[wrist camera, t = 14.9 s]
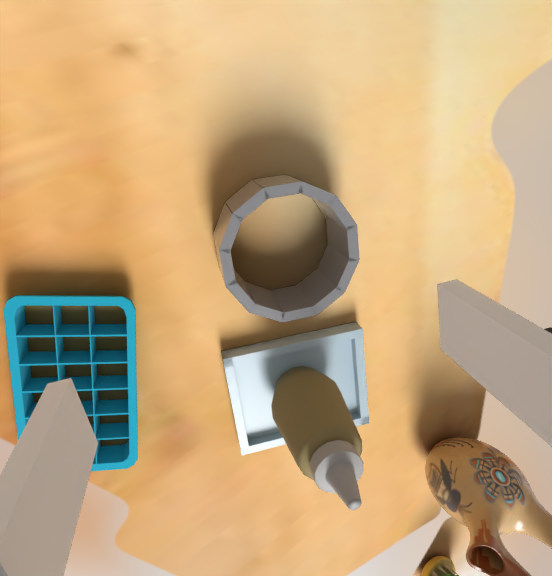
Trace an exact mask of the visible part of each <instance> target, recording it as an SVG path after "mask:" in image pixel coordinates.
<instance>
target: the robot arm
mask: <svg viewBox="0 0 552 576" xmlns="http://www.w3.org/2000/svg"><path fill="white" fill-rule="evenodd" d="M437 289H438V308H439V327H440V346H441V350H442V351H443V352H444V353H445V354H446V355H448V356H449V357H450V358H451V359H452V360H453V361H454V362H456V363H457V364H458V365H459V366H460V367H461V368H462V369H464V370H465V371H466V372H467V373H468V374H469V375H470V376H472V377H473V378H474V379H475V380H476V381H477V382H478V383H479V384H481V385H482V386H483V387H484V388H485V389H486V390H487V391H489V392H490V393H491V394H492V395H493V396H494V397H496V398H497V399H498V400H499V401H500V402H501V403H502V404H503V405H505V406H506V407H507V408H508V409H509V410H510V411H511V412H513V413H514V414H515V415H516V416H517V417H518V418H519V419H521V420H522V421H523V422H524V423H525V424H526V425H527V426H528V427H530V428H531V429H532V430H533V431H534V432H535V433H537V434H538V435H539V436H540V437H541V438H542V439H543V440H545V441H546V442H547V443H548V444H549V445H550V446H551V447H552V328H546V329H543V328H541V327H539V326H537V325H536V324H534V323H532V322H530V321H529V320H527V319H525V318H523V317H522V316H520V315H518V314H516V313H515V312H513V311H511V310H509V309H508V308H506V307H504V306H502V305H501V304H499V303H497V302H495V301H494V300H492V299H490V298H488V297H487V296H485V295H483V294H481V293H480V292H478V291H476V290H474V289H473V288H471V287H469V286H467V285H466V284H464V283H462V282H460V281H459V280H457V279H456V280H452V281H448V282H444V283H440V284H437ZM97 445H98V442H97V439H96V437H95V434H94V432H93V429H92V427H91V425H90V422H89V420H88V417H87V415H86V413H85V410H84V408H83V405H82V403H81V401H80V398H79V396H78V393H77V391H76V388H75V386H74V384H73V381H72V379H71V378H68V379H64V380H60V381H56V382H52V383H48V384H47V386H46V387H45V389H44V391H43V393H42V395H41V397H40V399H39V401H38V403H37V405H36V407H35V409H34V411H33V413H32V415H31V417H30V419H29V420H28V422H27V424H26V426H25V428H24V430H23V432H22V434H21V436H20V438H19V440H18V442H17V444H16V446H15V448H14V450H13V452H12V454H11V455H10V458H9V459H8V461H7V463H6V465H5V467H4V469H3V471H2V473H1V475H0V576H63V575H64V571H65V568H66V564H67V560H68V556H69V552H70V549H71V545H72V540H73V537H74V533H75V529H76V525H77V522H78V518H79V514H80V510H81V506H82V503H83V499H84V495H85V491H86V487H87V483H88V480H89V476H90V472H91V468H92V465H93V461H94V457H95V453H96V449H97Z"/></svg>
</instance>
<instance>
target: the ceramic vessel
mask: <svg viewBox="0 0 552 576" xmlns="http://www.w3.org/2000/svg"><path fill="white" fill-rule="evenodd" d="M425 472H426V478H427V482H428V485H429V487H430V490H431V492H432V493H433V495H434V497H435V498H436V500H437V501H438V503H439V504H440V505H441V506H442V508H443V509H444V510H445V511H446V512H447V513H448V514H449V515H451V516H452V517H453V518H454V519H455V520H457V521H458V522H460V523H461V524H463V525H464V526H466V527H468V529H469V532H470V543H469V546H468V549H467V553H466V559H467V562H468V564H469V565H470V566H471V567H472V568H474V569H476V570H478V571H481V572H484V573H486V574H488V575H490V576H531V575H530V574H529V573H528V572H527V571H526V570H525V569H524V568H523V567H522V566H521V565H520V564H519V563H518V562H517V561H516V560H515V559H514V558H513V557H512V555H511V554H510V553H509V552H508V551H507V549H506V548H505V546H504V545H503V543H502V541H501V538H500V535H507V534H511V533H523V534H526V535H529V536H532V537H534V538H536V539H538V540H540V541H541V542H543V543H544V544H546V545H547V546H549V547H550V548H551V549H552V515H551V514H550V513H549V512H547V511H546V510H545V509H544V507H543V506H542V505H541V504H540V503H539V502H538V500H537V499H536V497H535V496H534V494H533V492H532V490H531V487H530V485H529V483H528V481H527V479H526V478H525V476H524V475H523V473H522V472H521V470H520V469H519V468H518V467H517V466H516V465H515V464H514V462H513V461H512V460H511V459H509V458H508V457H507V456H506V455H505V454H503V453H502V452H500V451H499V450H497V449H496V448H494V447H492V446H490V445H488V444H486V443H484V442H481V441H478V440H475V439H470V438H462V437H456V438H449V439H445V440H442V441H440V442H439V443H437V444H436V445H435V446H434V447H433V448H432V449H431V451H430V452H429V454H428V456H427V459H426V465H425Z"/></svg>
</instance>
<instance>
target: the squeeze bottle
mask: <svg viewBox="0 0 552 576" xmlns="http://www.w3.org/2000/svg"><path fill="white" fill-rule="evenodd" d="M271 407H272V417H273V420H274V421H275V423H276V425H277V427H278V429H279V431H280V433H281V435H282V437H283V438H284V440H285V442H286V444H287V446H288V448H289V450H290V452H291V454H292V456H293V457H294V459H295V461H296V463H297V465H298V467H299V468H300V470H301V471H302V473H303V474H304V475H306V476H307V477H309V478H311V479H313V480H314V481H315V483H316V484H317V486H318V487H319V488H320V489H321V490H323V491H325V492H330V493H337V494H338V496H339V497H340V498H341V499H342V501H343V502H344V503H345V504H346V506H347V507H348V508H349V509H351V510H355V509H357V508H359V507H360V506H361V498H360V494H359V489H358V485H357V481H358V480H359V479H360V477H361V475H362V473H363V461H362V459H361V458H360V455H361V453H362V440H361V438H360V435H359V433H358V431H357V428H356V426H355V424H354V421H353V419H352V417H351V414H350V412H349V410H348V407H347V405H346V403H345V400H344V398H343V396H342V394H341V391H340V390H339V388H338V386H337V384H336V382H335V381H333V380H332V379H330V378H329V377H328V376H326V375H324V374H323V373H321V372H319V371H317V370H315V369H313V368H310V367H305V366H300V367H294V368H291V369H290V370H288V371H286V372H285V373H283V375H282V376H281V377H280V378H279V379H278V381H277V384H276V387H275V390H274V395H273V400H272V405H271Z"/></svg>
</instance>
